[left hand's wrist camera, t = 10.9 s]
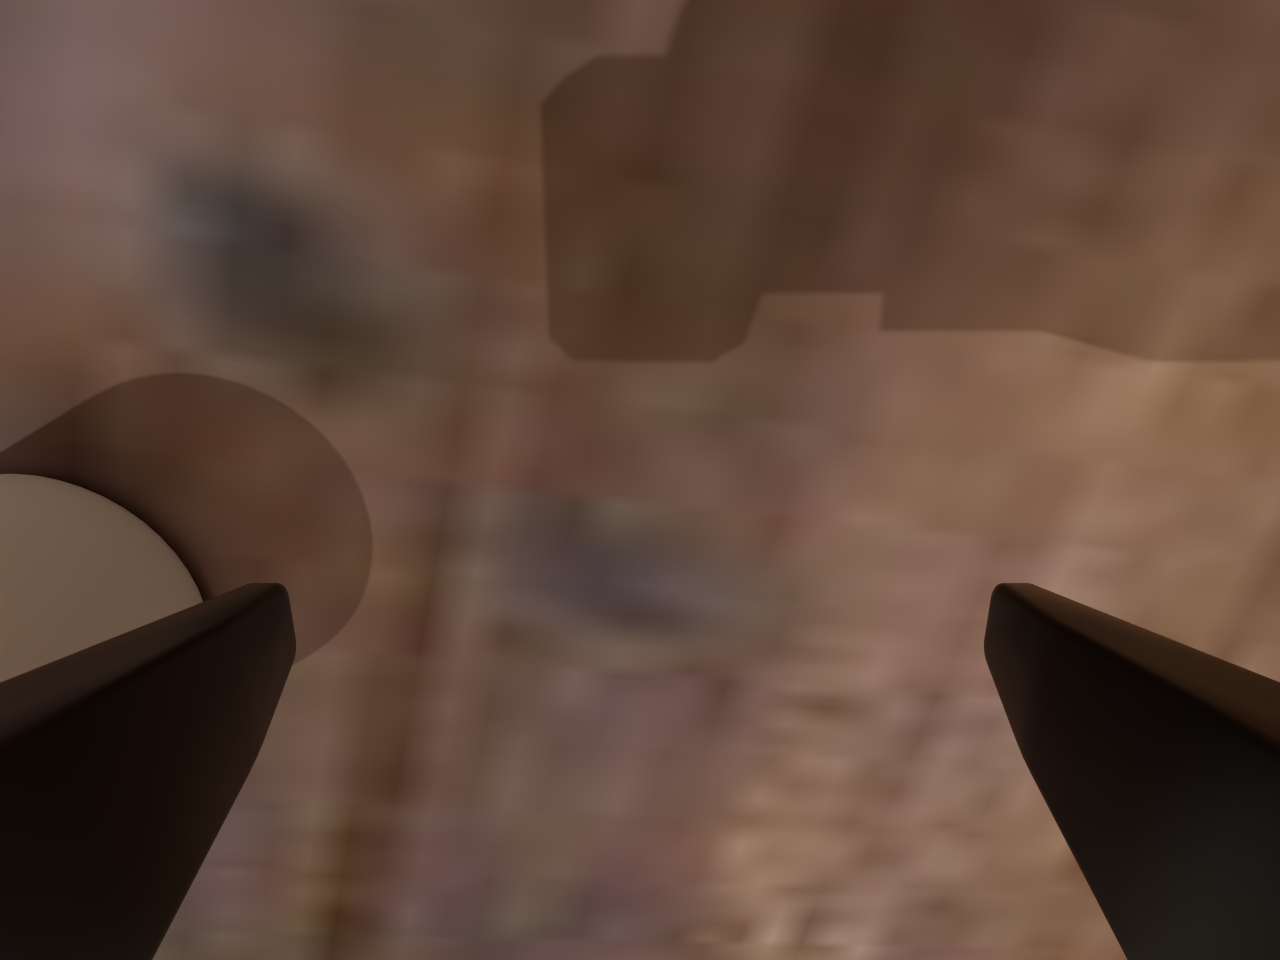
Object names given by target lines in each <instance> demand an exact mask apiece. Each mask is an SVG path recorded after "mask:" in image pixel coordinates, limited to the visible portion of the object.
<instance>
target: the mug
mask: <svg viewBox="0 0 1280 960" xmlns="http://www.w3.org/2000/svg"><path fill="white" fill-rule="evenodd" d="M202 602H203V600H202V598H201V595H200V593H199V590H198V588H197V586H196V584H195V582H194V581H193V579H192V577H191V575H190V573H189V572H188V570H187V569H186V567H185V566H184V564H183V563H182V562H181V560H180V559H179V558H178V556H177V555H176V553H175V552H174V551H173V550H172V549H171V548H170V547H169V546H168V545H167V544H166V542H165V541H164V540H163V539H162V538H161V537H160V536H159V535H158V534H157V533H155V532H154V531H153V530H152V529H151V528H150V527H149V526H148V525H146V524H145V523H144V522H143V521H141V520H140V519H139V518H137V517H136V516H134V515H133V514H132V513H130V512H129V511H127V510H126V509H125V508H123V507H121V506H119V505H117V504H116V503H114V502H112V501H110V500H109V499H107V498H105V497H103V496H101V495H98V494H96V493H94V492H91V491H89V490H87V489H84V488H82V487H79V486H76V485H73V484H70V483H67V482H63V481H60V480H56V479H51V478H46V477H41V476H36V475H24V474H0V682H3V681H5V680H8V679H10V678H13V677H15V676H18V675H20V674H23V673H25V672H28V671H30V670H33V669H35V668H38V667H40V666H43V665H46V664H48V663H51V662H53V661H56V660H58V659H61V658H63V657H66V656H68V655H71V654H73V653H76V652H78V651H81V650H83V649H86V648H88V647H91V646H93V645H96V644H98V643H101V642H103V641H106V640H109V639H111V638H114V637H116V636H119V635H121V634H124V633H126V632H129V631H131V630H134V629H136V628H139V627H141V626H144V625H146V624H149V623H151V622H154V621H156V620H159V619H161V618H164V617H166V616H169V615H172V614H174V613H177V612H179V611H182V610H184V609H187V608H189V607H192V606H194V605H197V604H199V603H202Z"/></svg>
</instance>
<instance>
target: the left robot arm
mask: <svg viewBox="0 0 1280 960" xmlns="http://www.w3.org/2000/svg"><path fill="white" fill-rule="evenodd" d="M295 653H296V639H295V632H294V626H293V620H292V613H291V607H290V601H289V595H288V592H287V590H286V588H285V587H284V586H283V585H282V584H279V583H251V584H247V585H245V586H242V587H240V588H237V589H235V590H232V591H229V592H227V593H224V594H222V595H219V596H217V597H214V598H212V599H209V600H207V601H204V602H202V603H199V604H197V605H194V606H192V607H189V608H187V609H184V610H182V611H179V612H177V613H174V614H172V615H169V616H166V617H164V618H161V619H159V620H156V621H154V622H151V623H149V624H146V625H144V626H141V627H139V628H136V629H134V630H131V631H129V632H126V633H124V634H121V635H119V636H116V637H114V638H111V639H109V640H106V641H103V642H101V643H98V644H96V645H93V646H91V647H88V648H86V649H83V650H81V651H78V652H76V653H73V654H71V655H68V656H66V657H63V658H61V659H58V660H56V661H53V662H51V663H48V664H46V665H43V666H40V667H38V668H35V669H33V670H30V671H28V672H25V673H23V674H20V675H18V676H15V677H13V678H10V679H8V680H5V681H3V682H0V960H152V959H153V957H154V955H155V954H156V952H157V950H158V948H159V946H160V944H161V942H162V940H163V938H164V936H165V934H166V932H167V930H168V929H169V927H170V925H171V923H172V921H173V919H174V917H175V915H176V913H177V911H178V909H179V907H180V905H181V903H182V902H183V900H184V898H185V896H186V894H187V892H188V890H189V888H190V886H191V884H192V882H193V880H194V878H195V877H196V875H197V873H198V871H199V869H200V867H201V865H202V863H203V861H204V859H205V857H206V855H207V853H208V851H209V850H210V848H211V846H212V844H213V842H214V840H215V838H216V836H217V834H218V832H219V830H220V828H221V826H222V825H223V823H224V821H225V819H226V817H227V815H228V813H229V811H230V809H231V807H232V805H233V803H234V801H235V799H236V798H237V796H238V794H239V792H240V790H241V788H242V786H243V784H244V782H245V780H246V778H247V776H248V774H249V772H250V770H251V768H252V766H253V764H254V762H255V760H256V758H257V756H258V753H259V751H260V749H261V746H262V744H263V741H264V739H265V736H266V733H267V731H268V728H269V725H270V723H271V720H272V717H273V715H274V712H275V709H276V707H277V704H278V701H279V699H280V696H281V693H282V691H283V688H284V685H285V683H286V680H287V677H288V675H289V672H290V669H291V667H292V664H293V661H294V658H295ZM984 653H985V658H986V661H987V664H988V667H989V669H990V672H991V675H992V677H993V680H994V683H995V685H996V688H997V691H998V693H999V696H1000V699H1001V701H1002V704H1003V707H1004V709H1005V712H1006V715H1007V717H1008V720H1009V723H1010V725H1011V728H1012V731H1013V733H1014V736H1015V739H1016V741H1017V744H1018V746H1019V749H1020V751H1021V753H1022V756H1023V758H1024V760H1025V762H1026V764H1027V766H1028V768H1029V770H1030V772H1031V774H1032V776H1033V778H1034V780H1035V782H1036V784H1037V786H1038V788H1039V790H1040V792H1041V794H1042V796H1043V798H1044V800H1045V801H1046V803H1047V805H1048V807H1049V809H1050V811H1051V813H1052V815H1053V817H1054V819H1055V821H1056V823H1057V825H1058V826H1059V828H1060V830H1061V832H1062V834H1063V836H1064V838H1065V840H1066V842H1067V844H1068V846H1069V848H1070V850H1071V852H1072V853H1073V855H1074V857H1075V859H1076V861H1077V863H1078V865H1079V867H1080V869H1081V871H1082V873H1083V875H1084V877H1085V878H1086V880H1087V882H1088V884H1089V886H1090V888H1091V890H1092V892H1093V894H1094V896H1095V898H1096V900H1097V902H1098V904H1099V905H1100V907H1101V909H1102V911H1103V913H1104V915H1105V917H1106V919H1107V921H1108V923H1109V925H1110V927H1111V929H1112V930H1113V932H1114V934H1115V936H1116V938H1117V940H1118V942H1119V944H1120V946H1121V948H1122V950H1123V952H1124V954H1125V956H1126V957H1127V959H1128V960H1280V682H1277V681H1275V680H1272V679H1270V678H1267V677H1265V676H1262V675H1260V674H1257V673H1255V672H1252V671H1250V670H1247V669H1245V668H1242V667H1240V666H1237V665H1234V664H1232V663H1229V662H1227V661H1224V660H1222V659H1219V658H1217V657H1214V656H1212V655H1209V654H1207V653H1204V652H1202V651H1199V650H1197V649H1194V648H1192V647H1189V646H1187V645H1184V644H1182V643H1179V642H1177V641H1174V640H1171V639H1169V638H1166V637H1164V636H1161V635H1159V634H1156V633H1154V632H1151V631H1149V630H1146V629H1144V628H1141V627H1139V626H1136V625H1134V624H1131V623H1129V622H1126V621H1124V620H1121V619H1119V618H1116V617H1114V616H1111V615H1108V614H1106V613H1103V612H1101V611H1098V610H1096V609H1093V608H1091V607H1088V606H1086V605H1083V604H1081V603H1078V602H1076V601H1073V600H1071V599H1068V598H1066V597H1063V596H1061V595H1058V594H1056V593H1053V592H1051V591H1048V590H1045V589H1043V588H1040V587H1038V586H1035V585H1033V584H1029V583H1001V584H998V585H997V586H996V587H995V588H994V590H993V592H992V595H991V601H990V607H989V613H988V620H987V626H986V632H985V639H984Z"/></svg>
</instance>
